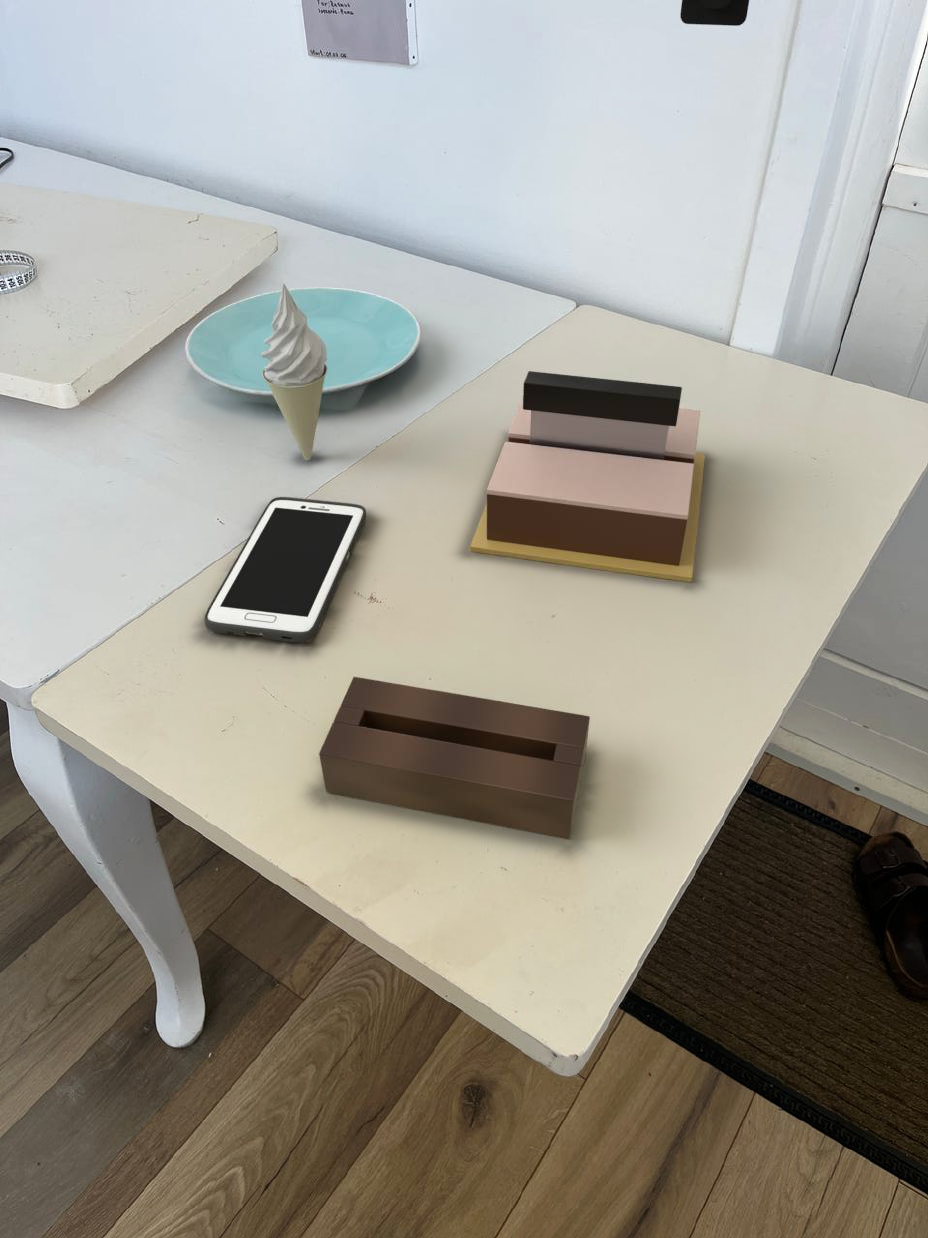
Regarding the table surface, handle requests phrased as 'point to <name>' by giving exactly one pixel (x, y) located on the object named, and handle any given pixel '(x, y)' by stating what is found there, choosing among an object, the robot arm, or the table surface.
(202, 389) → the table surface
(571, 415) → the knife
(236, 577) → the cell phone
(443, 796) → the brown slotted box
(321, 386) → the ice cream cone
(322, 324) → the plate
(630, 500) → the cake
